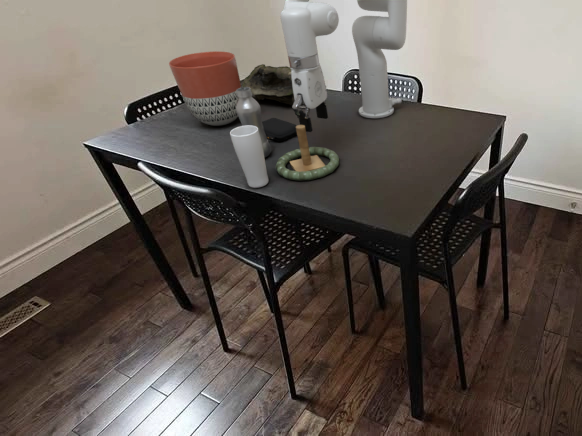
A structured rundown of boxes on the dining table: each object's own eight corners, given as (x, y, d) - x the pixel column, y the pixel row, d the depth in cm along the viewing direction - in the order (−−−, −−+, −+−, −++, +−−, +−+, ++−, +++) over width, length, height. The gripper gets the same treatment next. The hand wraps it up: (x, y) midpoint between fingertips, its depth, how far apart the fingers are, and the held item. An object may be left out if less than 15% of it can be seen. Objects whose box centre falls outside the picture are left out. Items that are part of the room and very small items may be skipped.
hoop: (327, 148, 127) (326, 140, 125) (348, 171, 114) (347, 163, 113) (270, 161, 120) (268, 154, 119) (286, 188, 108) (284, 180, 106)
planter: (178, 129, 141) (154, 64, 128) (220, 109, 155) (202, 49, 143) (223, 137, 135) (202, 70, 122) (262, 116, 149) (247, 53, 137)
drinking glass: (248, 178, 112) (233, 125, 104) (274, 176, 113) (261, 124, 104) (242, 191, 107) (225, 137, 98) (269, 189, 107) (255, 135, 99)
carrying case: (248, 134, 136) (277, 145, 129) (246, 125, 134) (275, 136, 127) (275, 123, 143) (304, 133, 136) (273, 115, 141) (302, 124, 134)
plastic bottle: (276, 153, 125) (261, 86, 113) (263, 163, 119) (245, 94, 108) (258, 150, 126) (241, 84, 115) (244, 160, 121) (224, 92, 110)
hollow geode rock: (309, 120, 158) (325, 84, 158) (286, 105, 146) (303, 66, 147) (260, 104, 170) (275, 71, 171) (236, 89, 159) (252, 53, 160)
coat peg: (317, 158, 121) (310, 118, 114) (326, 169, 115) (319, 128, 108) (290, 165, 118) (281, 124, 111) (298, 177, 112) (289, 135, 105)
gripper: (300, 72, 99) (312, 138, 109) (331, 53, 113) (340, 114, 123) (273, 70, 101) (287, 135, 111) (307, 52, 115) (317, 112, 125)
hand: (315, 124), depth 117 cm, fingers open, 9 cm apart
